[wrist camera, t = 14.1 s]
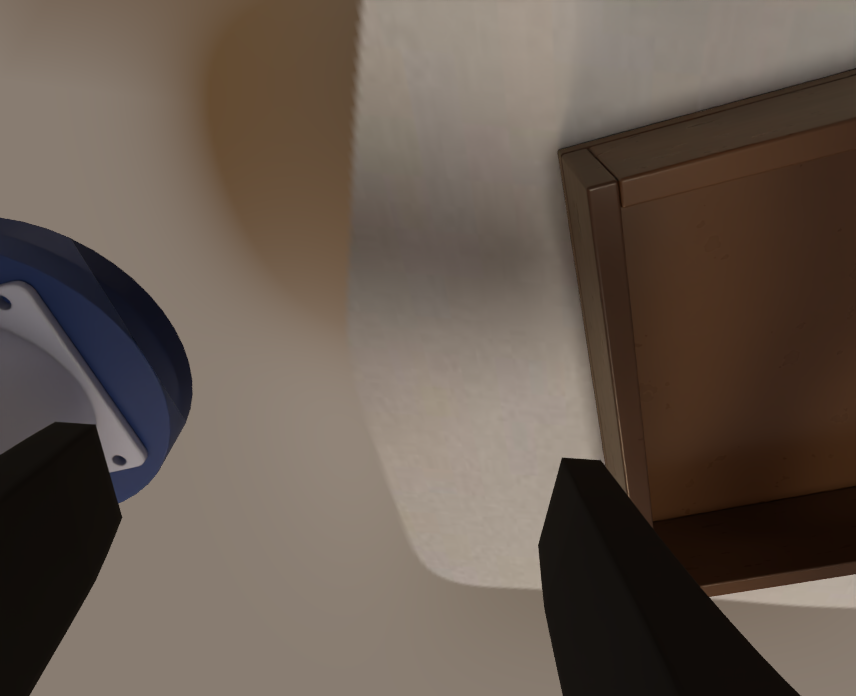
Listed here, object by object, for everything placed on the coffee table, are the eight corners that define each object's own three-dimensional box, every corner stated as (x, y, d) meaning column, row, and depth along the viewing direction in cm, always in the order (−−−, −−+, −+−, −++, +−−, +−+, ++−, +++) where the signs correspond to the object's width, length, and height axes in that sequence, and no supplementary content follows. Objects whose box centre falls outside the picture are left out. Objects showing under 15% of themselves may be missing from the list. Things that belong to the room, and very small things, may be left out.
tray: (615, 529, 23) (641, 608, 20) (556, 149, 16) (586, 188, 13) (951, 470, 22) (1034, 547, 19) (1075, 8, 14) (1252, 14, 11)
